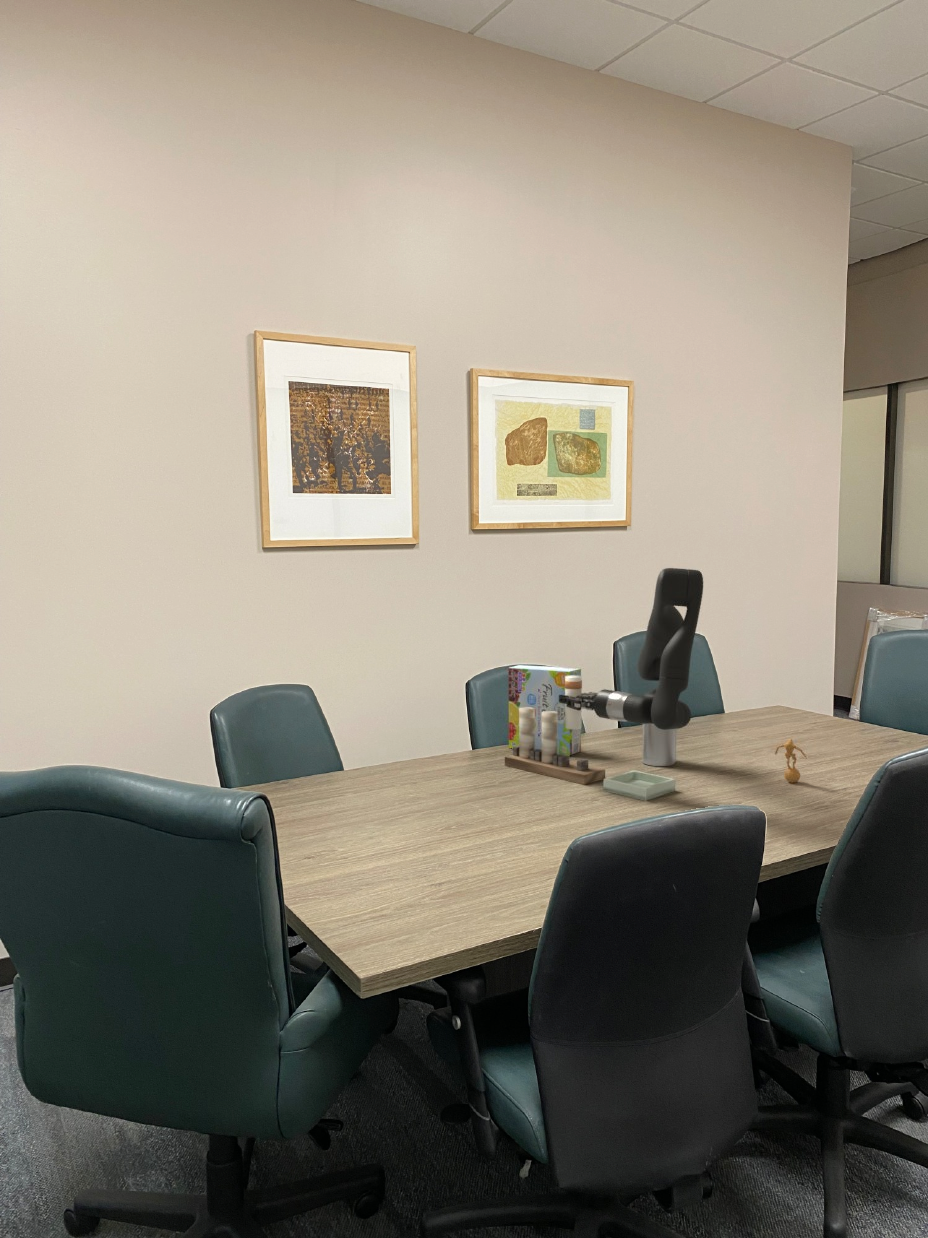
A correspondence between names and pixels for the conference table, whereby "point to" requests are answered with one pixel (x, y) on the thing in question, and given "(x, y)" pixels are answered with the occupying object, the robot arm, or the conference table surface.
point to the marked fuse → (571, 715)
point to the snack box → (541, 703)
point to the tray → (639, 785)
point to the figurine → (792, 773)
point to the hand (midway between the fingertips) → (565, 697)
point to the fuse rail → (557, 770)
